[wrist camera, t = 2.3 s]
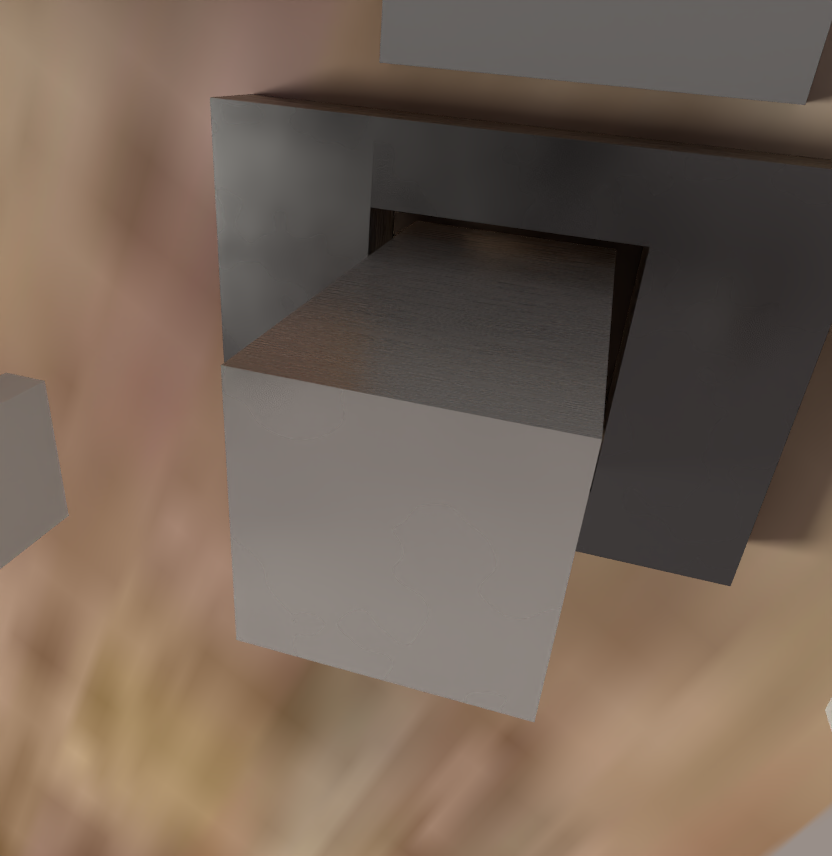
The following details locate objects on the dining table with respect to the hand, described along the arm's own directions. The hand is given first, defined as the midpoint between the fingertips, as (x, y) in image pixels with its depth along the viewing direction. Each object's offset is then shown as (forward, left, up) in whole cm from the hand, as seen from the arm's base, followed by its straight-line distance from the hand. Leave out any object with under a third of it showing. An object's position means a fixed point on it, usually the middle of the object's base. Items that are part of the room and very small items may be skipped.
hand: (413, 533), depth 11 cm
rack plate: (0, 0, -9) cm, 9 cm away
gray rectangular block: (0, 0, -9) cm, 9 cm away
